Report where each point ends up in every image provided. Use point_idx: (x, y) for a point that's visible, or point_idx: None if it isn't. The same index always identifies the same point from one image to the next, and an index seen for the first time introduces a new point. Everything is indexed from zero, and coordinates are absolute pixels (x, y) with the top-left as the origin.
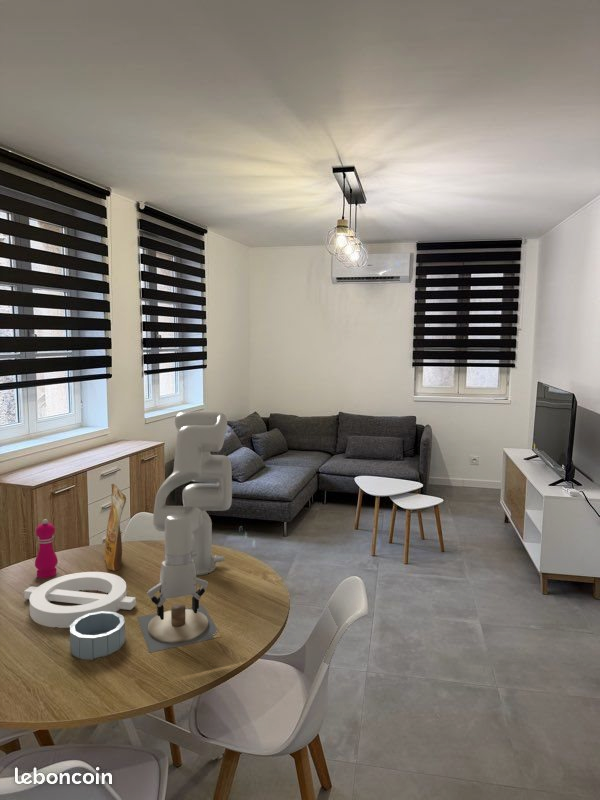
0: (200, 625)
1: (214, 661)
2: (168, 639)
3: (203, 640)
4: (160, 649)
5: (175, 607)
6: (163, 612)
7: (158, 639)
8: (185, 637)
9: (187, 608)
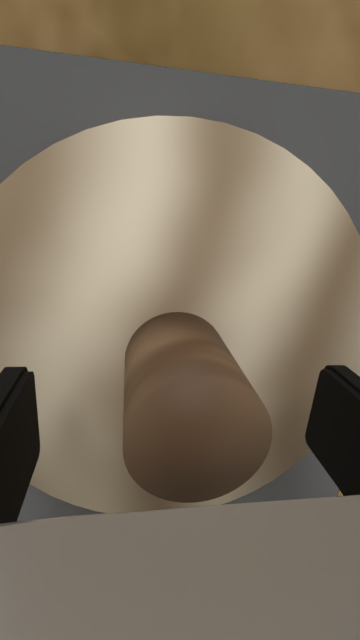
0: (289, 427)
1: None
2: (69, 501)
3: None
4: None
5: (168, 445)
6: (18, 509)
7: None
8: None
9: (330, 104)
